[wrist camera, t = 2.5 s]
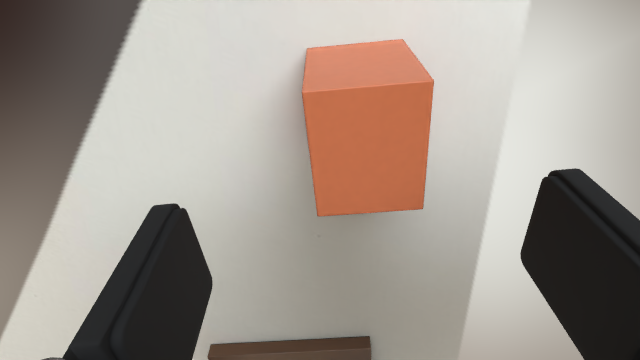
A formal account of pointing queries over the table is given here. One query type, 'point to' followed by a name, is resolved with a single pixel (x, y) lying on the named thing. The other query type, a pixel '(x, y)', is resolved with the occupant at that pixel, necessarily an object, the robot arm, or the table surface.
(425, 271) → the table surface
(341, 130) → the terracotta orange cube
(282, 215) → the table surface
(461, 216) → the table surface
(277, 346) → the word board
